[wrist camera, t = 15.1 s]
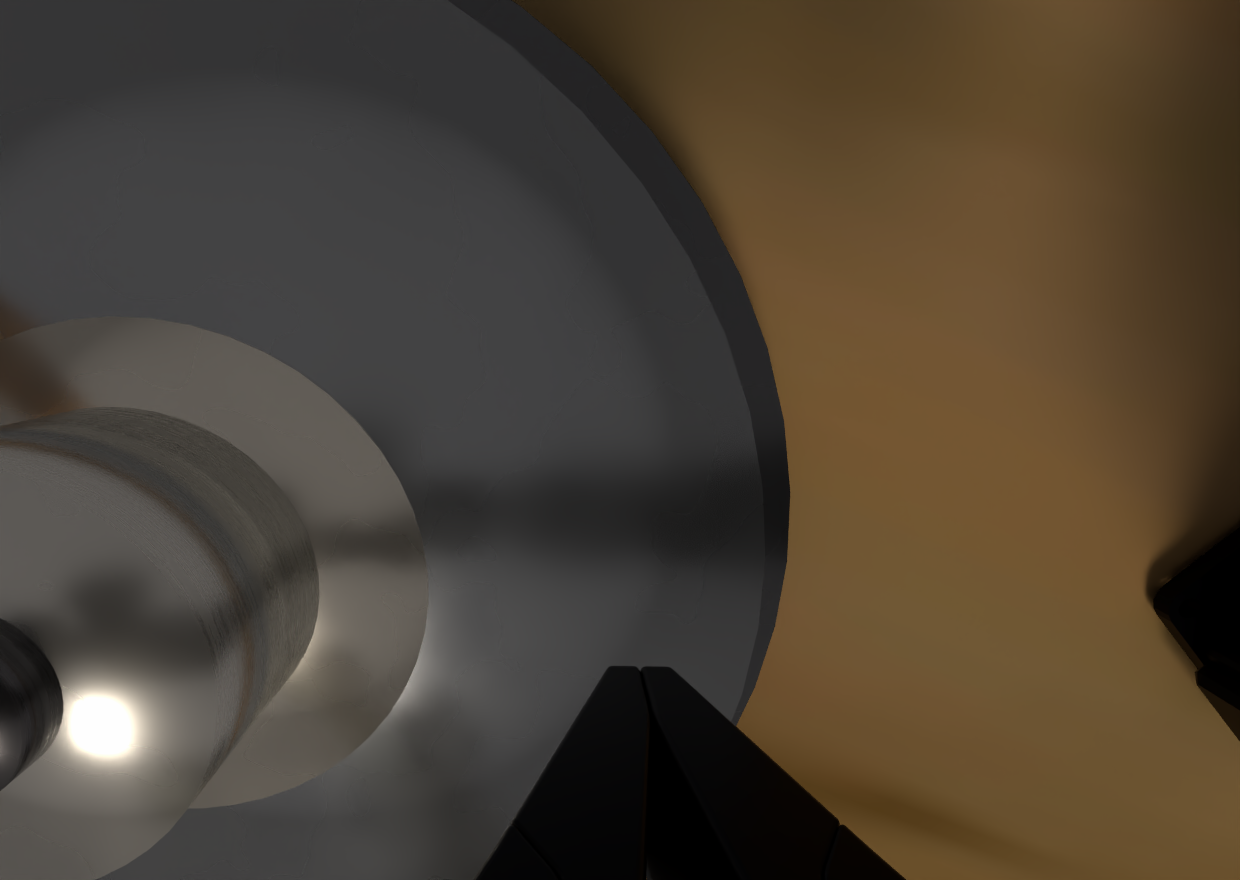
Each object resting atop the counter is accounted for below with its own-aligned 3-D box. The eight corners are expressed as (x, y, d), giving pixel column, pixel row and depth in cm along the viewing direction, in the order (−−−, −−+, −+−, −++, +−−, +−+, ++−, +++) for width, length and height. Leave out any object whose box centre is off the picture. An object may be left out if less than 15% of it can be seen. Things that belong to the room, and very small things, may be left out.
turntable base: (168, -443, 10) (123, -523, 9) (975, 549, 15) (1003, 566, 14) (-617, 503, 12) (-719, 520, 11) (288, 1102, 17) (271, 1151, 16)
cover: (-93, 411, 10) (-491, 476, 6) (297, 401, 10) (136, 459, 7) (-6, 743, 11) (-295, 960, 8) (337, 725, 12) (222, 925, 8)
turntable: (-632, -84, 9) (-1939, -497, 5) (762, -66, 11) (917, -382, 6) (-208, 1016, 14) (-631, 1400, 9) (734, 948, 15) (806, 1258, 10)
